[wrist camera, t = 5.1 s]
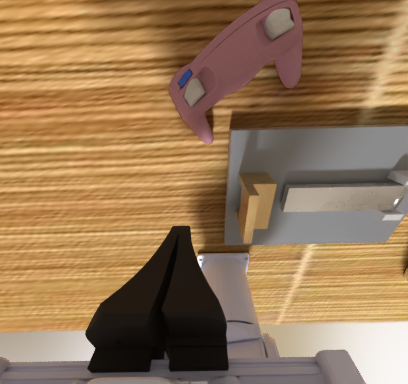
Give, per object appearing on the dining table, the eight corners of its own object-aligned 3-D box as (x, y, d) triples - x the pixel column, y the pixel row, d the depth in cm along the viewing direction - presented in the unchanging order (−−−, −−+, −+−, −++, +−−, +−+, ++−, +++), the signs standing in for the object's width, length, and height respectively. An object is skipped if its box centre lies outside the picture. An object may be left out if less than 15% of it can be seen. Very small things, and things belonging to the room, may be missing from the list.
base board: (375, 234, 24) (399, 253, 21) (223, 237, 24) (226, 256, 21) (450, 122, 16) (503, 127, 13) (229, 128, 16) (234, 134, 14)
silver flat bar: (389, 205, 19) (398, 210, 18) (279, 207, 19) (283, 212, 18) (404, 181, 17) (415, 186, 16) (285, 184, 17) (289, 188, 17)
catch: (260, 214, 20) (274, 242, 16) (235, 215, 20) (243, 243, 16) (267, 173, 17) (286, 194, 13) (238, 173, 17) (249, 195, 13)
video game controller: (273, 42, 14) (297, -72, 8) (300, 86, 14) (348, 9, 8) (184, 112, 17) (145, 73, 10) (206, 149, 17) (181, 135, 10)
